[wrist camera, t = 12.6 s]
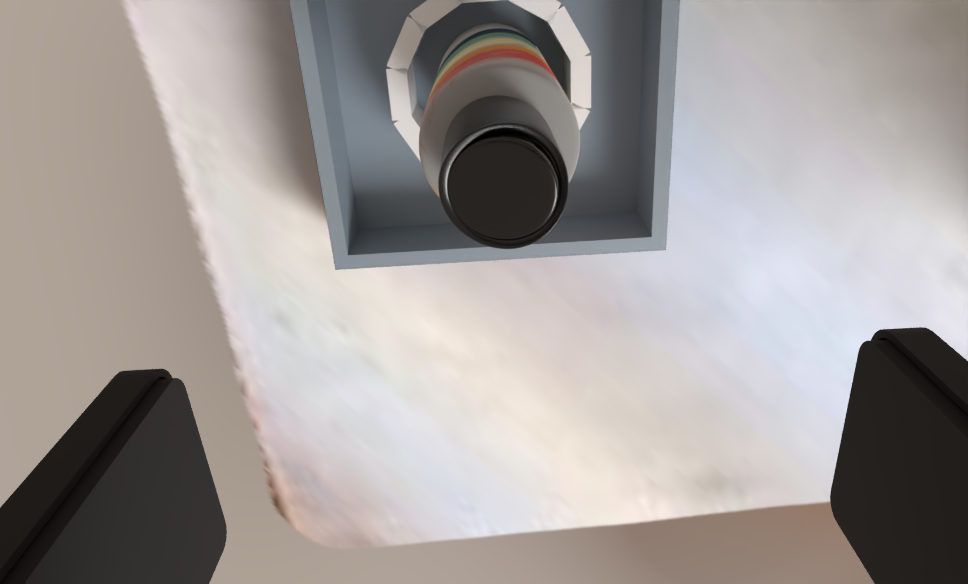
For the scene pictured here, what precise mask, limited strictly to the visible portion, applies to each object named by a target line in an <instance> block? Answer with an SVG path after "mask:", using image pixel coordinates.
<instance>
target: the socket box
mask: <svg viewBox="0 0 968 584" xmlns="http://www.w3.org/2000/svg"><path fill="white" fill-rule="evenodd" d="M289 1H290V7H291V13H292V19H293V25H294V31H295V36H296V42H297V48H298V54H299V60H300V66H301V71H302V77H303V83H304V89H305V95H306V101H307V106H308V112H309V118H310V124H311V130H312V136H313V141H314V147H315V153H316V159H317V165H318V171H319V176H320V182H321V188H322V194H323V200H324V206H325V211H326V217H327V223H328V229H329V235H330V241H331V246H332V252H333V258H334V264H335V270H339V269H356V268H372V267H389V266H406V265H423V264H440V263H456V262H473V261H490V260H507V259H524V258H540V257H557V256H574V255H591V254H607V253H624V252H641V251H658V250H666V239H667V221H668V203H669V185H670V166H671V148H672V130H673V112H674V94H675V76H676V58H677V39H678V21H679V3H680V0H289ZM486 23H499V24H505V25H508V26H511V27H514V28H516V29H518V30H519V31H521V32H522V33H524V34H525V35H526V36H527V37H529V38H530V39H531V40H532V42H533V43H534V44H535V45H536V46H537V48H538V49H539V51H540V52H541V54H542V56H543V57H544V59H545V61H546V62H547V64H548V66H549V67H550V69H551V71H552V72H553V74H554V76H555V77H556V79H557V81H558V82H559V84H560V86H561V87H562V89H563V91H564V92H565V94H566V96H567V98H568V99H569V101H570V104H571V106H572V108H573V110H574V113H575V115H576V118H577V122H578V126H579V132H580V151H579V158H578V162H577V166H576V169H575V172H574V174H573V176H572V178H571V180H570V182H569V191H568V198H567V202H566V206H565V209H564V211H563V213H562V216H561V217H560V219H559V221H558V222H557V224H556V225H555V226H554V228H553V229H552V230H551V231H550V232H549V233H548V234H547V235H546V236H544V237H543V238H542V239H540V240H538V241H537V242H535V243H533V244H531V245H528V246H525V247H521V248H516V249H498V248H493V247H489V246H486V245H483V244H480V243H478V242H476V241H474V240H472V239H471V238H469V237H468V236H466V235H465V234H464V233H462V232H461V231H460V230H459V229H458V228H457V227H456V226H455V225H454V224H453V223H452V222H451V220H450V219H449V217H448V216H447V214H446V213H445V210H444V208H443V206H442V203H441V200H440V197H439V196H438V195H437V194H436V193H435V191H434V190H433V189H432V187H431V185H430V184H429V182H428V180H427V178H426V176H425V173H424V171H423V168H422V164H421V160H420V155H419V132H420V126H421V122H422V118H423V114H424V111H425V108H426V105H427V102H428V99H429V96H430V93H431V90H432V87H433V84H434V81H435V78H436V76H437V73H438V70H439V67H440V64H441V61H442V59H443V57H444V54H445V52H446V51H447V49H448V47H449V46H450V45H451V43H452V42H453V41H454V40H455V39H456V38H457V37H458V36H459V35H460V34H462V33H463V32H465V31H466V30H468V29H470V28H472V27H474V26H477V25H481V24H486Z"/></svg>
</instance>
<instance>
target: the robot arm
mask: <svg viewBox="0 0 968 584" xmlns="http://www.w3.org/2000/svg"><path fill="white" fill-rule="evenodd" d="M830 500H831V507H832V512H833V515H834V518H835V520H836V521H837V523H838V525H839V526H840V528H841V530H842V531H843V533H844V535H845V536H846V538H847V539H848V541H849V543H850V544H851V546H852V547H853V549H854V550H855V552H856V554H857V556H858V557H859V559H860V560H861V562H862V564H863V565H864V567H865V568H866V570H867V572H868V573H869V575H870V577H871V578H872V580H873V582H874V583H875V584H968V361H967V360H966V359H964V358H963V357H962V356H961V355H960V354H959V353H957V352H956V351H955V350H954V349H953V348H951V347H950V346H949V345H948V344H947V343H946V342H944V341H943V340H942V339H941V338H940V337H939V336H937V335H936V334H935V333H934V332H933V331H931V330H929V329H927V328H902V329H884V330H879V331H877V332H876V333H875V334H874V336H873V337H872V339H871V341H866V342H864V343H863V344H862V345H861V347H860V349H859V353H858V358H857V363H856V368H855V373H854V378H853V383H852V388H851V393H850V398H849V403H848V408H847V413H846V418H845V423H844V428H843V433H842V438H841V443H840V448H839V453H838V458H837V463H836V468H835V473H834V478H833V483H832V488H831V495H830ZM226 533H227V532H226V523H225V519H224V515H223V512H222V509H221V505H220V502H219V498H218V495H217V492H216V488H215V485H214V482H213V478H212V475H211V472H210V468H209V465H208V462H207V458H206V455H205V452H204V448H203V445H202V441H201V438H200V435H199V431H198V428H197V425H196V421H195V418H194V415H193V411H192V408H191V405H190V401H189V398H188V394H187V391H186V388H185V385H184V383H183V382H182V381H181V380H180V379H178V378H172V376H171V375H170V373H169V372H168V371H167V370H165V369H150V370H132V371H122V372H119V373H118V374H117V375H115V377H114V378H113V379H112V380H111V381H110V382H109V384H108V385H107V386H106V387H105V388H104V389H103V390H102V392H101V393H100V394H99V395H98V397H96V398H95V400H94V401H93V402H92V403H91V404H90V405H89V406H88V408H87V409H86V410H85V411H84V412H83V413H82V414H81V416H80V417H79V418H78V419H77V421H75V423H74V424H73V425H72V426H71V427H70V428H69V429H68V431H67V432H66V433H65V434H64V435H63V436H62V438H61V439H60V440H59V441H58V442H57V443H56V444H55V445H54V447H53V448H52V449H51V450H50V451H49V453H48V454H47V455H46V456H45V457H44V458H43V460H41V462H40V463H39V464H38V465H37V466H36V467H35V468H34V470H33V471H32V472H31V473H30V474H29V475H28V477H27V478H26V479H25V480H24V481H23V482H22V484H21V485H20V486H19V487H18V488H17V489H16V490H15V492H14V493H13V494H12V495H11V496H10V497H9V498H8V500H7V501H6V502H5V503H4V504H3V505H2V506H1V508H0V584H209V582H210V580H211V578H212V575H213V573H214V571H215V568H216V566H217V564H218V562H219V559H220V557H221V555H222V552H223V550H224V547H225V542H226Z"/></svg>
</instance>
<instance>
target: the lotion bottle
mask: <svg viewBox="0 0 968 584" xmlns="http://www.w3.org/2000/svg"><path fill="white" fill-rule="evenodd" d="M579 151H580V132H579V126H578V122H577V118H576V115H575V113H574V110H573V108H572V106H571V104H570V101H569V99H568V98H567V96H566V94H565V92H564V91H563V89H562V87H561V86H560V84H559V82H558V81H557V79H556V77H555V76H554V74H553V72H552V71H551V69H550V67H549V66H548V64H547V62H546V61H545V59H544V57H543V56H542V54H541V52H540V51H539V49H538V48H537V46H536V45H535V44H534V43H533V42H532V40H531V39H530V38H529V37H527V36H526V35H525V34H524V33H522V32H521V31H519V30H518V29H516V28H514V27H511V26H508V25H505V24H499V23H486V24H481V25H477V26H474V27H472V28H470V29H468V30H466V31H465V32H463V33H462V34H460V35H459V36H458V37H457V38H456V39H455V40H454V41H453V42H452V43H451V45H450V46H449V47H448V49H447V51H446V52H445V54H444V57H443V59H442V61H441V64H440V67H439V70H438V73H437V76H436V78H435V81H434V84H433V87H432V90H431V93H430V96H429V99H428V102H427V105H426V108H425V111H424V114H423V118H422V122H421V126H420V132H419V155H420V160H421V164H422V168H423V171H424V173H425V176H426V178H427V180H428V182H429V184H430V185H431V187H432V189H433V190H434V191H435V193H436V194H437V195H438V196H439V197H440V200H441V203H442V206H443V208H444V210H445V213H446V214H447V216H448V217H449V219H450V220H451V222H452V223H453V224H454V225H455V226H456V227H457V228H458V229H459V230H460V231H461V232H462V233H464V234H465V235H466V236H468V237H469V238H471V239H472V240H474V241H476V242H478V243H480V244H483V245H486V246H489V247H493V248H498V249H516V248H521V247H525V246H528V245H531V244H533V243H535V242H537V241H538V240H540V239H542V238H543V237H544V236H546V235H547V234H548V233H549V232H550V231H551V230H552V229H553V228H554V226H555V225H556V224H557V222H558V221H559V219H560V217H561V216H562V213H563V211H564V209H565V206H566V202H567V198H568V191H569V182H570V180H571V178H572V176H573V174H574V172H575V169H576V166H577V162H578V158H579Z"/></svg>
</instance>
